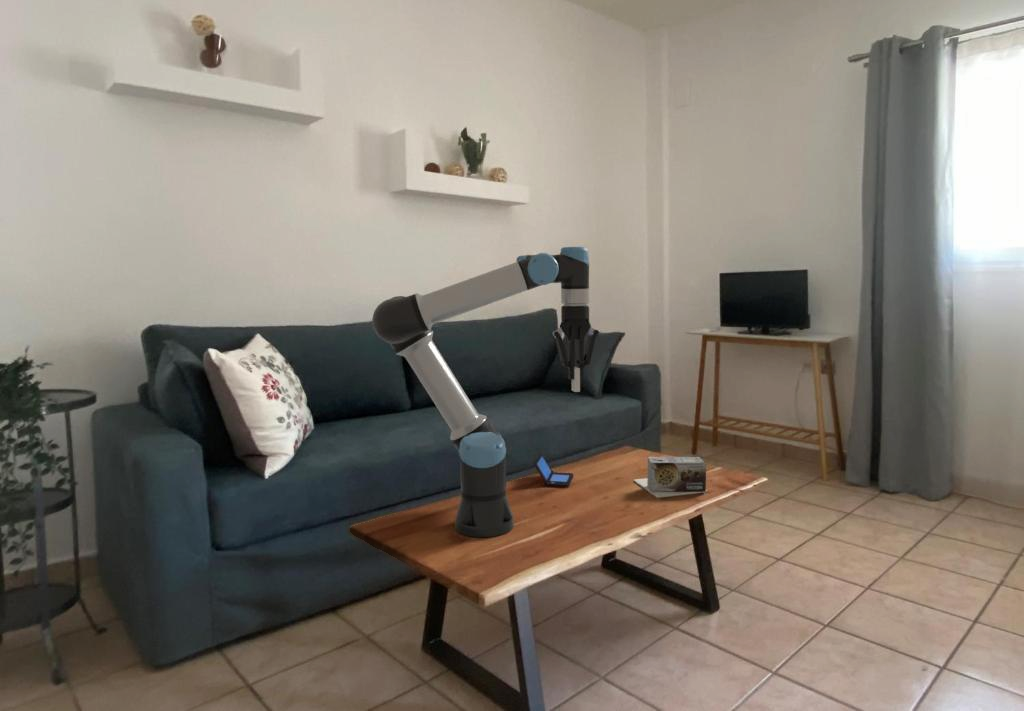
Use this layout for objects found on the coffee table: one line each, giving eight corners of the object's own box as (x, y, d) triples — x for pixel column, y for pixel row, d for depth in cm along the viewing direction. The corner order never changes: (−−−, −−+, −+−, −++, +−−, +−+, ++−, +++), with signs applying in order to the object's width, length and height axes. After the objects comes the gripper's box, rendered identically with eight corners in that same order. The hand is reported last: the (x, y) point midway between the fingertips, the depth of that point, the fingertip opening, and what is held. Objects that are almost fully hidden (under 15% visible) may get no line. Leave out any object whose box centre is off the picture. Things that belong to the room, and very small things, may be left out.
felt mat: (656, 497, 192) (656, 495, 192) (633, 481, 207) (633, 479, 207) (707, 492, 196) (707, 490, 195) (680, 476, 211) (680, 474, 211)
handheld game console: (568, 488, 202) (568, 465, 201) (533, 487, 204) (533, 463, 203) (574, 476, 214) (573, 453, 213) (540, 474, 216) (540, 452, 215)
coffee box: (646, 485, 201) (701, 485, 201) (650, 492, 195) (706, 492, 194) (647, 455, 200) (701, 456, 199) (651, 462, 194) (707, 462, 193)
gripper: (592, 303, 185) (593, 387, 188) (547, 304, 182) (548, 390, 185) (603, 304, 178) (603, 391, 181) (556, 306, 175) (557, 394, 178)
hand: (575, 390), depth 183 cm, fingers closed
